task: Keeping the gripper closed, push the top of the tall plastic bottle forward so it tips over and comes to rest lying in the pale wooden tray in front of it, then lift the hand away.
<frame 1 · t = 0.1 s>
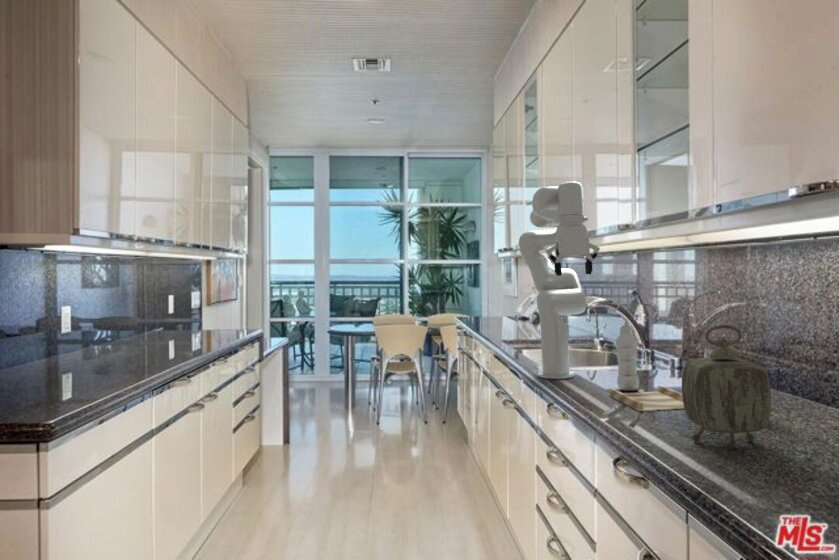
hand: (573, 274, 170), 37 cm above the table, tool pointing down, fingers open, 9 cm apart
plastic bottle: (628, 391, 165), on the table
wooden tray: (651, 401, 150), on the table
supplement bottle: (745, 417, 131), on the table
tabletop clock: (729, 447, 110), on the table
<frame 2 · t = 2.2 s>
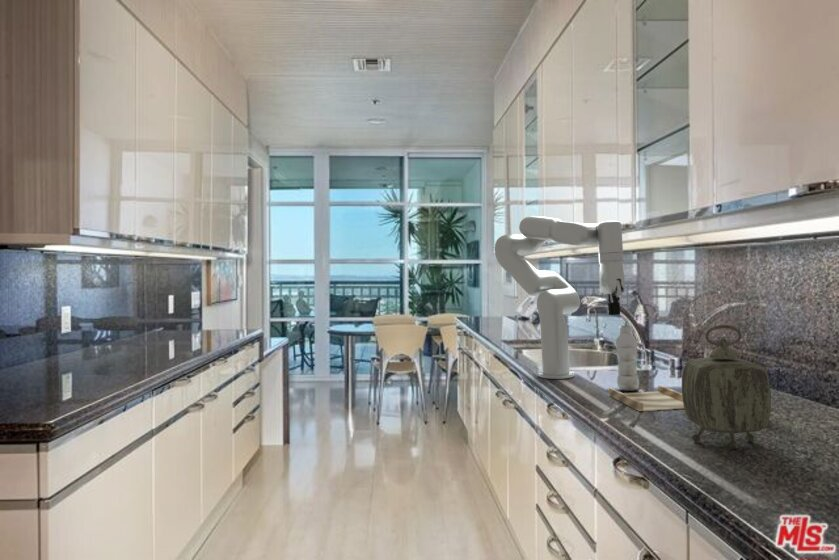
hand: (614, 314, 174), 23 cm above the table, tool pointing down, fingers closed
nothing on the table moved.
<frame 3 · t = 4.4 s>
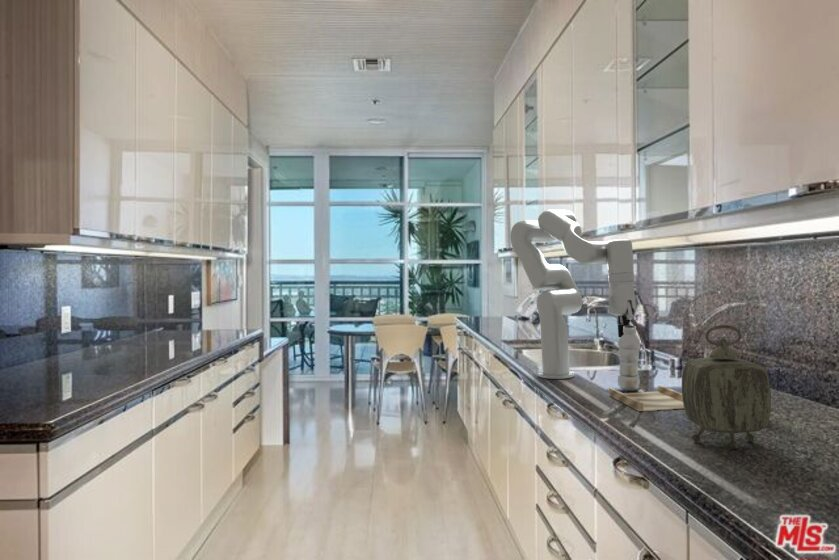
hand: (624, 337, 166), 16 cm above the table, tool pointing down, fingers closed
plastic bottle: (628, 389, 165), on the table, touching gripper
everything else where it was.
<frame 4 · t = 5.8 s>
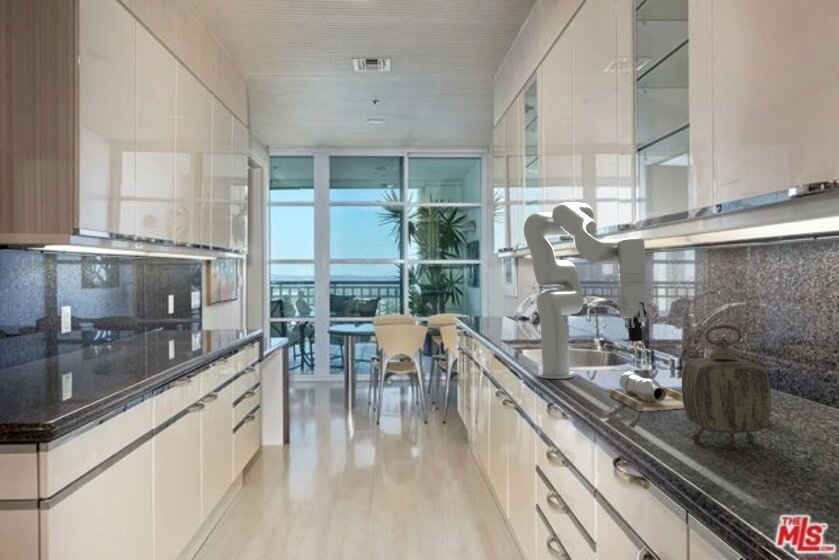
hand: (635, 340, 158), 16 cm above the table, tool pointing down, fingers closed
plastic bottle: (627, 381, 162), point 3 cm above the table, touching wooden tray
everything else where it was.
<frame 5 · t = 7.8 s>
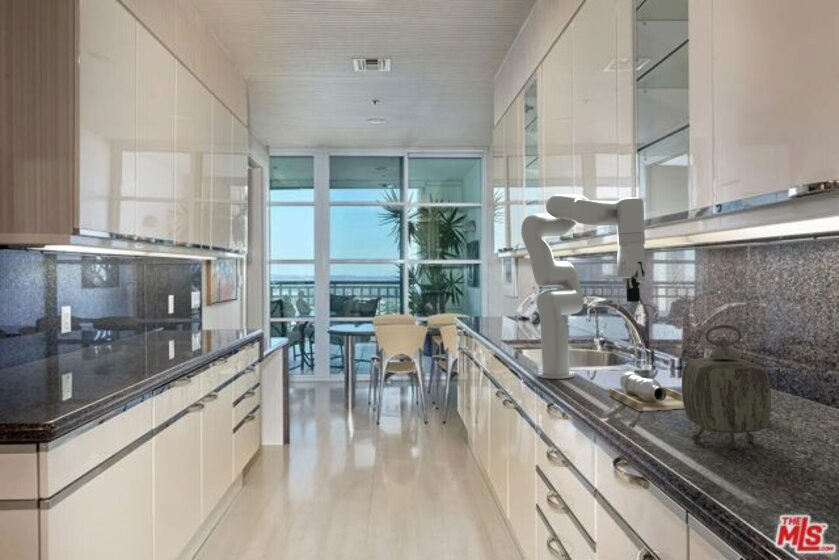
hand: (633, 301, 158), 28 cm above the table, tool pointing down, fingers closed
nothing on the table moved.
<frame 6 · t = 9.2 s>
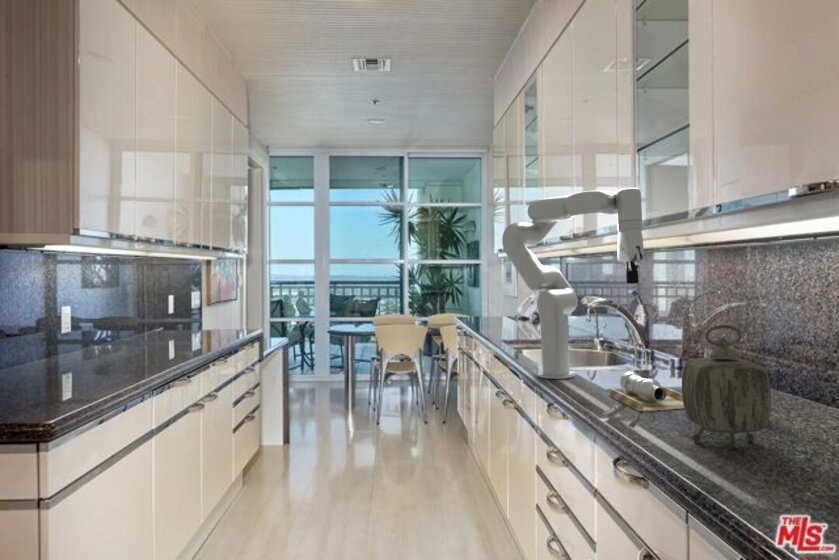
hand: (632, 283, 172), 33 cm above the table, tool pointing down, fingers closed
nothing on the table moved.
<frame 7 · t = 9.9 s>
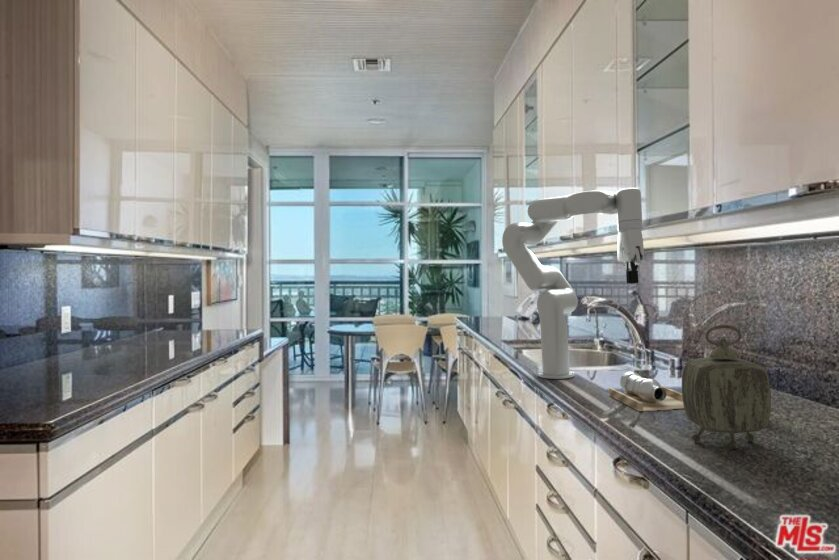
hand: (632, 283, 172), 33 cm above the table, tool pointing down, fingers closed
nothing on the table moved.
at the end: plastic bottle tilted 89°; plastic bottle inside the target area on the wooden tray (10.6 cm from its centre), point 3.4 cm above the wooden tray's base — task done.
